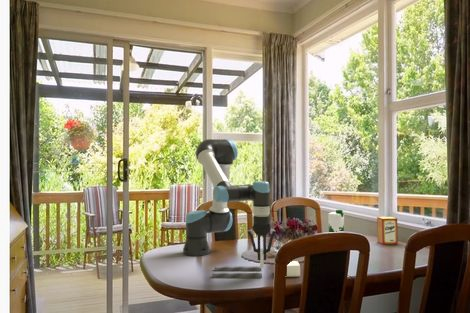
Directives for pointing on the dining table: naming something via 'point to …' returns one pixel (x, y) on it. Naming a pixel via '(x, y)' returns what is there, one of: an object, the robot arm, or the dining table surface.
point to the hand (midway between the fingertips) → (262, 267)
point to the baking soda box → (387, 230)
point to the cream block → (293, 269)
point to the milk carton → (336, 221)
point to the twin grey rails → (237, 275)
